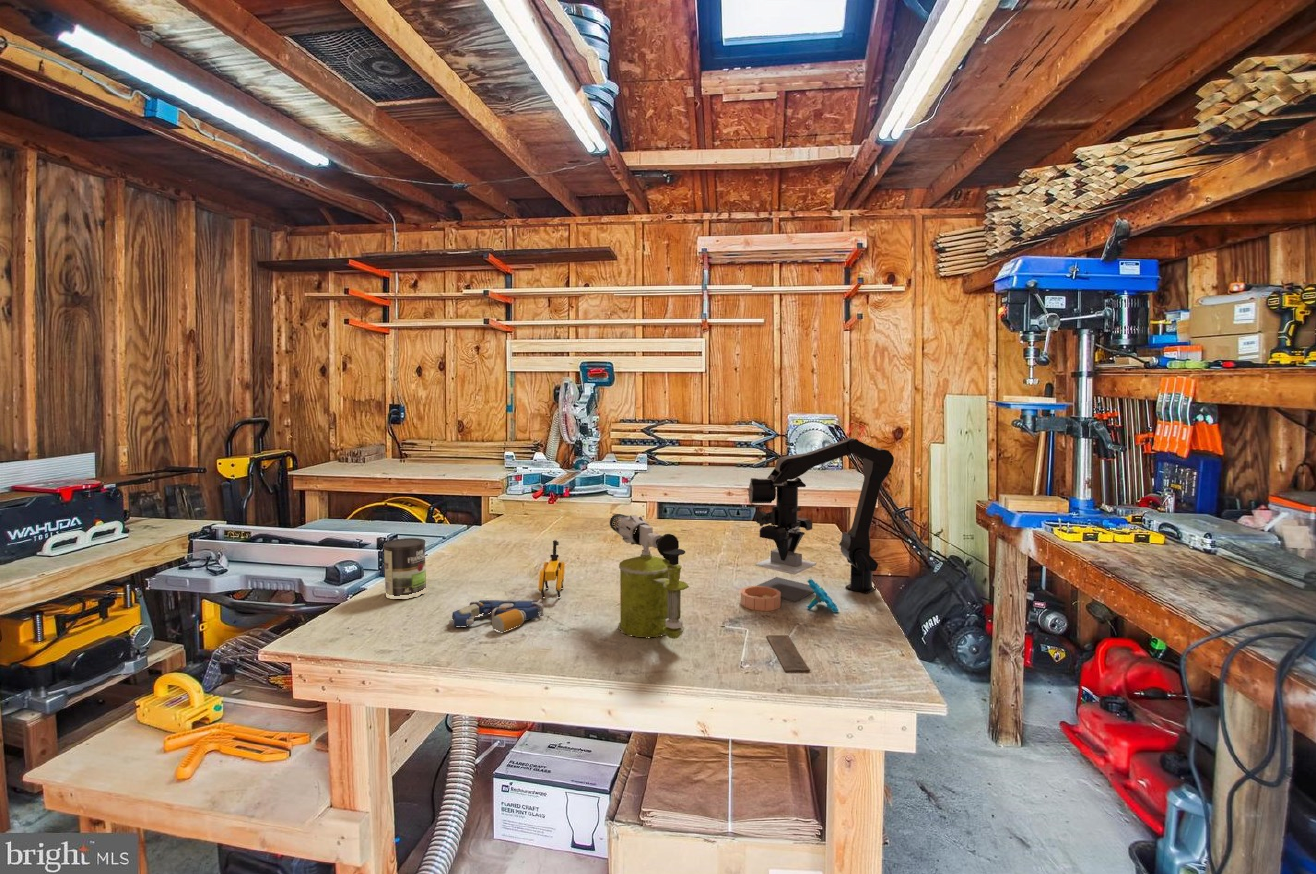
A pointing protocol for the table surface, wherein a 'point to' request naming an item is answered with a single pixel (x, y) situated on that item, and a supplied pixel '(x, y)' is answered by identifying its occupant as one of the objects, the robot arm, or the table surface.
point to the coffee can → (404, 566)
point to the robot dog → (552, 572)
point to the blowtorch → (649, 581)
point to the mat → (789, 588)
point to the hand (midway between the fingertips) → (786, 559)
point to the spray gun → (498, 613)
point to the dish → (760, 598)
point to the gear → (820, 597)
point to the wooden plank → (787, 653)
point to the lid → (786, 563)
